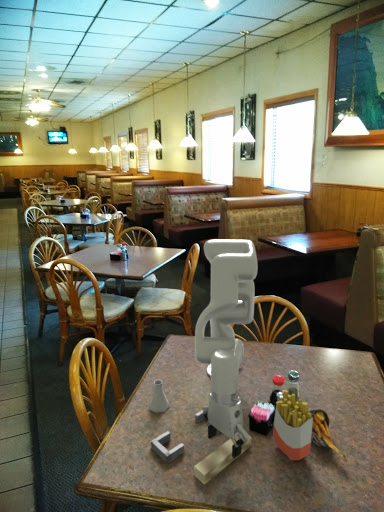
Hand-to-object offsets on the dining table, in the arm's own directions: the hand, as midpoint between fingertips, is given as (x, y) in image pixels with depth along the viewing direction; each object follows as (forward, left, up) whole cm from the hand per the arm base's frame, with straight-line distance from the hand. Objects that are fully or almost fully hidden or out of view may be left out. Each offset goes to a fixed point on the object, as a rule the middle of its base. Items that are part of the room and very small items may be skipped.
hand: (224, 445), depth 106 cm
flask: (0, -32, -6) cm, 33 cm away
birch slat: (0, 0, -6) cm, 6 cm away
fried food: (-27, +16, -6) cm, 32 cm away
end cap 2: (-8, -14, -5) cm, 17 cm away
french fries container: (-17, +11, -6) cm, 21 cm away
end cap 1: (+10, -14, -5) cm, 18 cm away
